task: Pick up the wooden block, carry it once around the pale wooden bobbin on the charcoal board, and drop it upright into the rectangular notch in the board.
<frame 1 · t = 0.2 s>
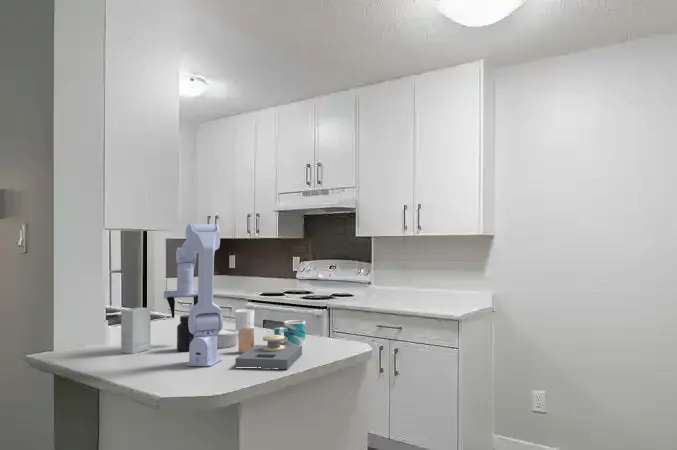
hand: (183, 316, 191), 11 cm above the worktop, tool pointing down, fingers open, 7 cm apart
supplement bottle: (186, 350, 182), on the worktop
skincare box: (135, 351, 181), on the worktop
wooden block: (246, 352, 178), on the worktop
mug: (290, 345, 190), on the worktop
notched board: (270, 361, 164), on the worktop
ramekin: (223, 346, 189), on the worktop
white cup: (244, 335, 210), on the worktop
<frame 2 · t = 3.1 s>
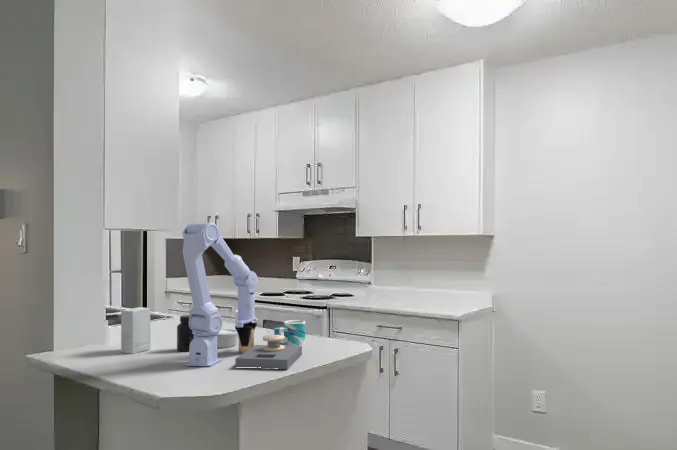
hand: (246, 345, 178), 2 cm above the worktop, tool pointing down, fingers closed on wooden block, 3 cm apart
wooden block: (246, 352, 178), on the worktop, touching gripper
everything else where it was.
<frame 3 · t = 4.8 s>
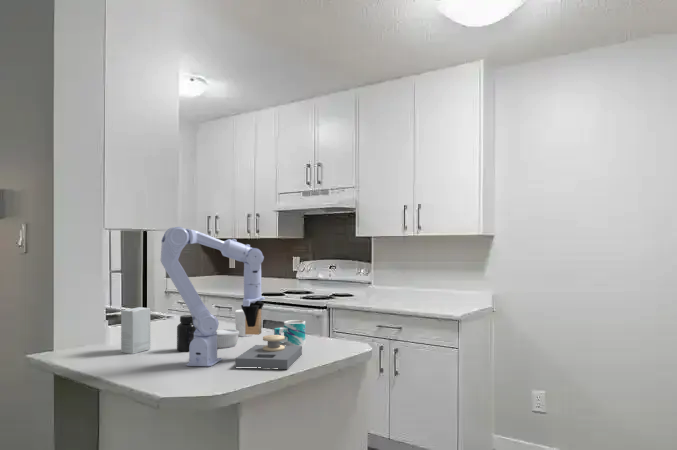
hand: (252, 325, 170), 10 cm above the worktop, tool pointing down, fingers closed on wooden block, 3 cm apart
wooden block: (253, 333, 170), point 8 cm above the worktop, touching gripper
everything else where it was.
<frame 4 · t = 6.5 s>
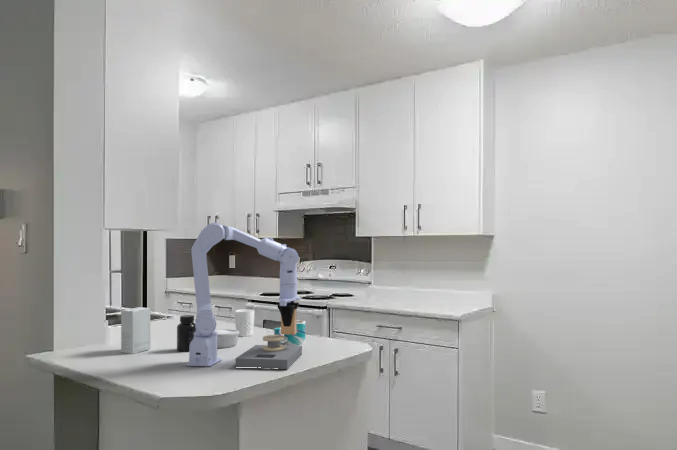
hand: (288, 325, 171), 10 cm above the worktop, tool pointing down, fingers closed on wooden block, 3 cm apart
wooden block: (288, 333, 170), point 8 cm above the worktop, touching gripper
everything else where it was.
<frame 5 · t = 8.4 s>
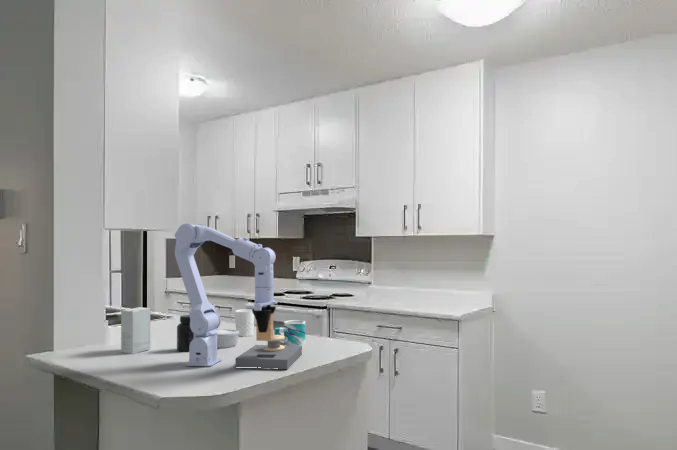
hand: (264, 331, 159), 10 cm above the worktop, tool pointing down, fingers closed on wooden block, 3 cm apart
wooden block: (265, 339, 159), point 8 cm above the worktop, touching gripper
everything else where it was.
when the fingers open (4 cm above the worktop, at t = 10.1 s): wooden block drops 1 cm, resting in notched board.
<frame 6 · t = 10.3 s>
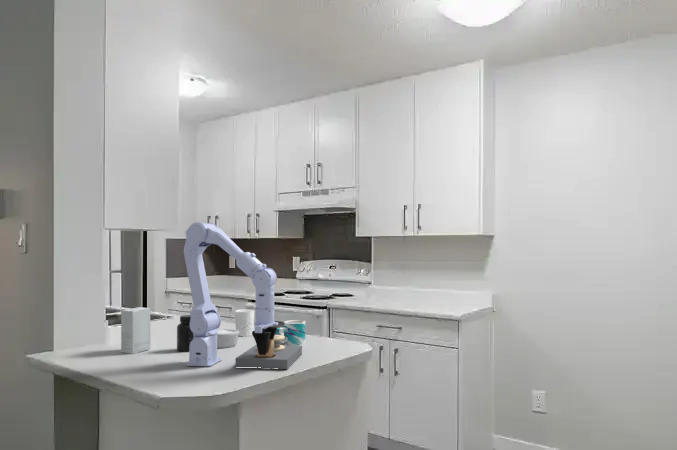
hand: (265, 352, 158), 4 cm above the worktop, tool pointing down, fingers open, 5 cm apart
wooden block: (265, 366, 158), resting in notched board
everything else where it was.
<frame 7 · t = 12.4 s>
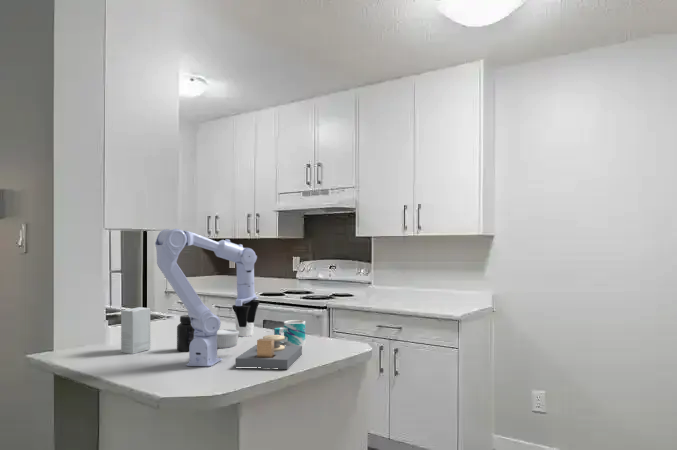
hand: (246, 324, 172), 10 cm above the worktop, tool pointing down, fingers open, 7 cm apart
nothing on the worktop moved.
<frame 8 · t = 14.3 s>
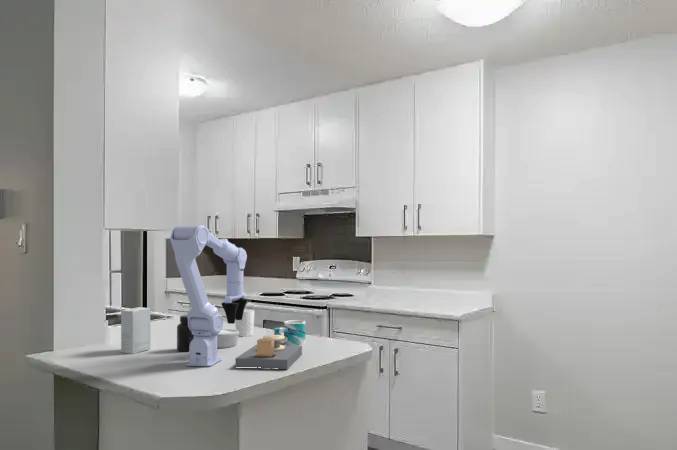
hand: (235, 321, 179), 10 cm above the worktop, tool pointing down, fingers open, 7 cm apart
nothing on the worktop moved.
at the end: wooden block 0.2 cm from the target spot on the notched board, point 0.0 cm above the notched board's base; wooden block tilted 0°; the gripper is holding nothing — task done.
